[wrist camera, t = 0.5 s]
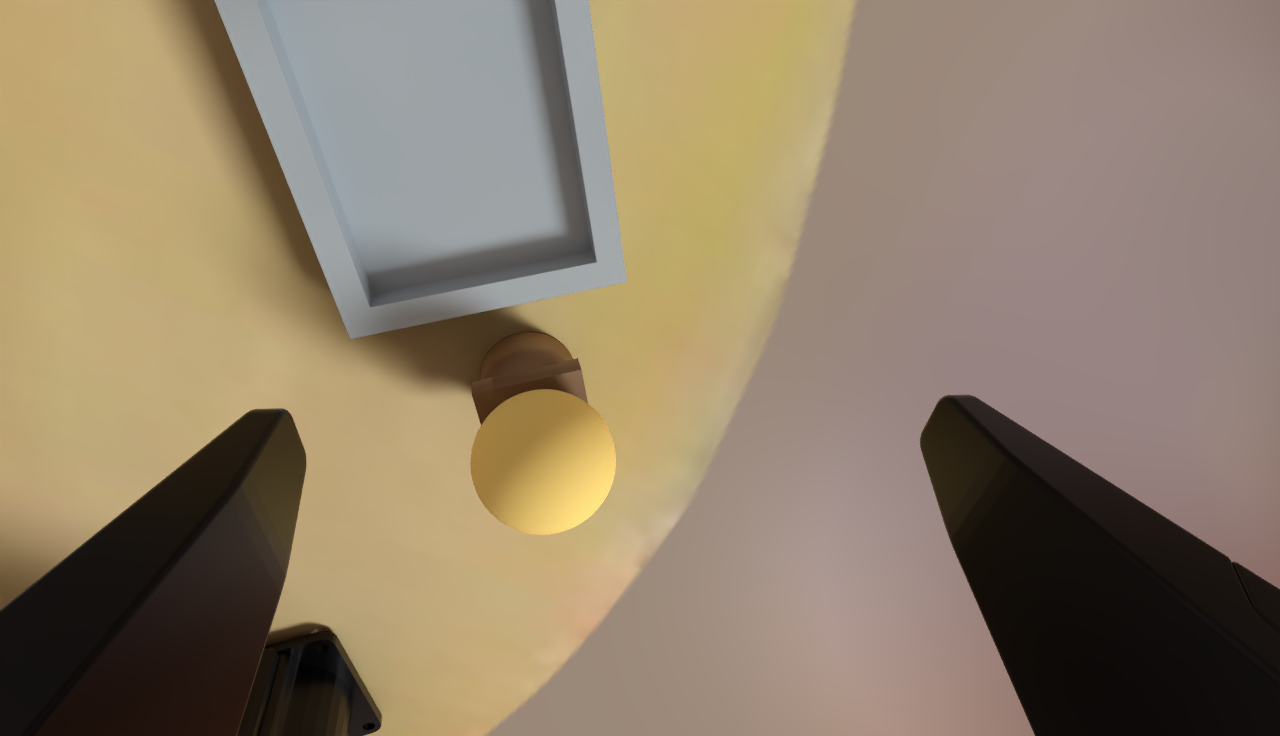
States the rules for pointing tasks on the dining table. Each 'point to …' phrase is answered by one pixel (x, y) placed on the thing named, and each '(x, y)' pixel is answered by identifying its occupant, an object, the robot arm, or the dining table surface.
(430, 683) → the dining table surface
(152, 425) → the dining table surface
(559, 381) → the egg cup
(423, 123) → the tray
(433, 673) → the dining table surface
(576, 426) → the ball
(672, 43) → the dining table surface
